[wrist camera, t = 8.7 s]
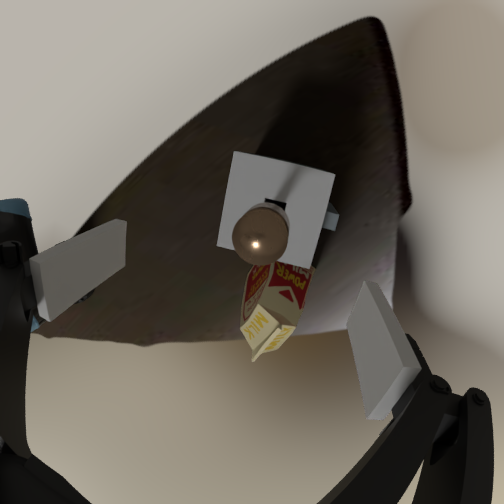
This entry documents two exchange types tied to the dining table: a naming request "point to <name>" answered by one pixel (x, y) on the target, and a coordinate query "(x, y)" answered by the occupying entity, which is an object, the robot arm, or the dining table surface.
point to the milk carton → (273, 304)
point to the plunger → (262, 233)
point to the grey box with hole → (285, 190)
